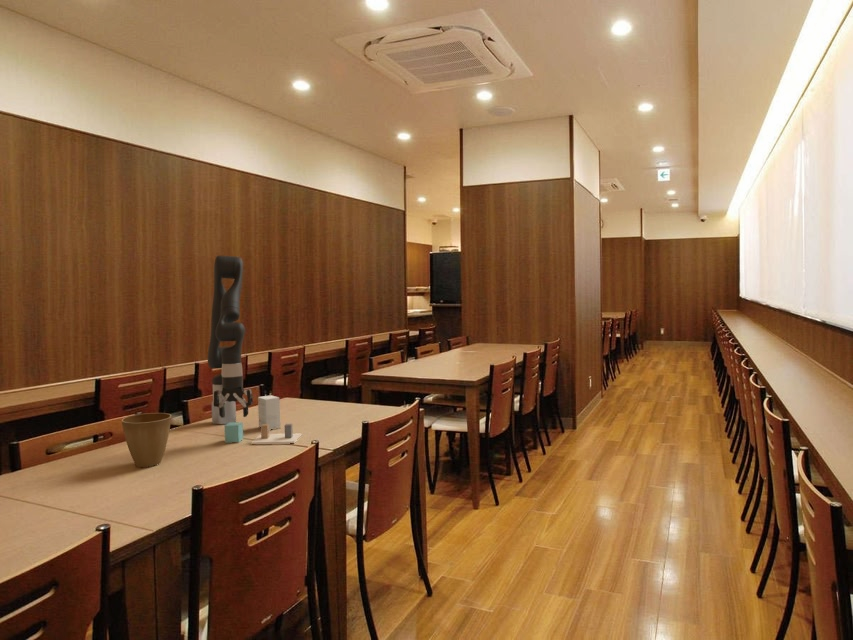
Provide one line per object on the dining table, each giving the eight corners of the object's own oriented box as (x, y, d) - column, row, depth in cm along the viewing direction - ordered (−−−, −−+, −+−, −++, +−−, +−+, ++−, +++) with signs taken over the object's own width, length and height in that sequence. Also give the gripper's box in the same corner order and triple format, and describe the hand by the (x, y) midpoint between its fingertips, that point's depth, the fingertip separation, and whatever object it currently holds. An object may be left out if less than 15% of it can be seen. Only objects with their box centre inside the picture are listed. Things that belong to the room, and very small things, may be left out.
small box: (280, 428, 236) (279, 397, 235) (266, 431, 232) (265, 399, 231) (272, 425, 242) (271, 394, 242) (258, 427, 238) (257, 396, 238)
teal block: (225, 442, 215) (224, 425, 214) (229, 439, 220) (229, 422, 220) (238, 442, 215) (238, 425, 214) (243, 439, 220) (242, 422, 219)
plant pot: (118, 473, 180) (116, 424, 179) (129, 460, 195) (127, 414, 194) (169, 468, 184) (167, 420, 183) (176, 456, 199) (174, 411, 198)
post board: (251, 444, 211) (250, 429, 211) (261, 436, 223) (260, 421, 223) (294, 444, 211) (293, 428, 211) (301, 435, 223) (301, 420, 223)
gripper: (253, 373, 220) (255, 414, 220) (217, 374, 220) (219, 415, 220) (247, 375, 212) (249, 418, 213) (209, 376, 212) (211, 419, 213)
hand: (234, 416), depth 217 cm, fingers open, 8 cm apart
